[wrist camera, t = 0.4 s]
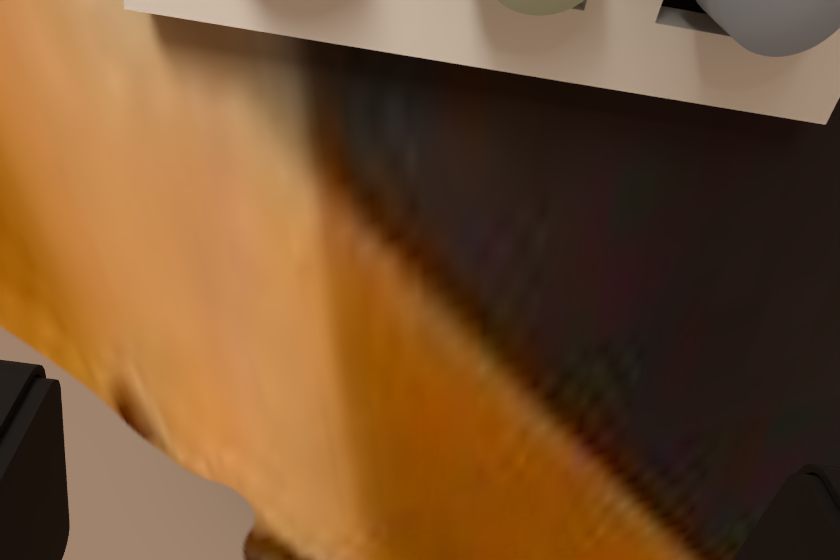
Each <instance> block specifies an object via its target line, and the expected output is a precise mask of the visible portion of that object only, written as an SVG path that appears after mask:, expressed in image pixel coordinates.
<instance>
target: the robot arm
mask: <svg viewBox="0 0 840 560" xmlns="http://www.w3.org/2000/svg"><path fill="white" fill-rule="evenodd" d="M67 495H68V494H67V480H66V463H65V449H64V433H63V419H62V402H61V387H60V383H59V381H58V380H55V379H47V378H46V375H45V370H44V368H43V366H42V365H36V364H29V363H21V362H13V361H5V360H0V560H62V558H63V555H64V552H65V549H66V545H67V541H68V536H69V509H68V496H67ZM733 560H840V468H839V467H831V466H823V465H815V464H808V465H805V466H803V467H802V468H801V469H800V470H799V471H798V473H794V474H791V475H790V476H789V477H788V478H787V479H786V481H785V482H784V484H783V485H782V487H781V488H780V490H779V491H778V493H777V494H776V496H775V497H774V499H773V500H772V502H771V503H770V505H769V506H768V508H767V509H766V511H765V512H764V514H763V515H762V517H761V518H760V520H759V521H758V523H757V524H756V526H755V527H754V529H753V530H752V532H751V533H750V535H749V536H748V538H747V539H746V541H745V542H744V544H743V545H742V547H741V548H740V550H739V551H738V553H737V554H736V556H735V557H734V559H733Z"/></svg>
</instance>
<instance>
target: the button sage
mask: <svg viewBox="0 0 840 560" xmlns="http://www.w3.org/2000/svg"><path fill="white" fill-rule="evenodd" d="M497 1H499V2H500V3H501V4H502V5H504V6H506V7H508V8H509V9H511V10H514V11H516V12H519V13H523V14H527V15H535V16H542V15H552V14H557V13H560V12H563V11H566V10H568V9H571V8H573V7H575V6H576V5H578V4H580V3H582V2H583V1H584V0H497Z"/></svg>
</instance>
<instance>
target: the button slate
mask: <svg viewBox="0 0 840 560" xmlns="http://www.w3.org/2000/svg"><path fill="white" fill-rule="evenodd" d="M696 2H697V3H698V4H699V6H700V7H701V8H702V9H703V10H704V11H705V12H706V13H707V14H708V15H709V16H710V17H711V18H712V19H713V20H714V21H715V22H716V23H718V24H719V25H720V26H721V27H722V28H723V29H724V30H725V31H726V32H727V33H728V34H729V35H730V36H731V37H732V38H733V39H734V40H735V41H736V42H737V43H739V44H740V45H741V46H742V47H744V48H745V49H747V50H748V51H750V52H753V53H755V54H758V55H762V56H769V57H783V56H790V55H794V54H797V53H801V52H803V51H806V50H808V49H811V48H812V47H814V46H816V45H818V44H820V43H821V42H823V41H824V40H826V39H827V38H828V37H830V36H831V35H832V34H833V33H835V32H836V31H837V30H838V29H839V28H840V0H696Z"/></svg>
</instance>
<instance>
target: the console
mask: <svg viewBox="0 0 840 560" xmlns="http://www.w3.org/2000/svg"><path fill="white" fill-rule="evenodd" d="M662 2H663V0H584V1H583V2H582V3H580V4H578V5H576V6H575V7H573V8H571V9H568V10H566V11H563V12H560V13H557V14H552V15H542V16H535V15H527V14H523V13H519V12H516V11H514V10H511V9H509V8H508V7H506V6H504V5H502V4H501V3H500V2H499V1H497V0H124V9H127V10H133V11H139V12H145V13H151V14H157V15H163V16H169V17H175V18H181V19H187V20H193V21H200V22H206V23H212V24H218V25H224V26H230V27H236V28H242V29H248V30H254V31H260V32H266V33H272V34H278V35H284V36H291V37H297V38H303V39H309V40H315V41H321V42H327V43H333V44H339V45H345V46H351V47H357V48H363V49H369V50H375V51H381V52H388V53H394V54H400V55H406V56H412V57H418V58H424V59H430V60H436V61H442V62H448V63H454V64H460V65H466V66H472V67H479V68H485V69H491V70H497V71H503V72H509V73H515V74H521V75H527V76H533V77H539V78H545V79H551V80H557V81H563V82H569V83H576V84H582V85H588V86H594V87H600V88H606V89H612V90H618V91H624V92H630V93H636V94H642V95H648V96H654V97H660V98H667V99H673V100H679V101H685V102H691V103H697V104H703V105H709V106H715V107H721V108H727V109H733V110H739V111H745V112H751V113H757V114H764V115H770V116H776V117H782V118H788V119H794V120H800V121H806V122H812V123H818V124H824V125H826V123H827V121H828V119H829V117H830V115H831V113H832V111H833V109H834V107H835V105H836V103H837V101H838V99H839V97H840V28H839V29H838V30H837V31H836V32H835V33H833V34H832V35H831V36H830V37H828V38H827V39H826V40H824V41H823V42H821V43H820V44H818V45H816V46H814V47H812V48H811V49H808V50H806V51H803V52H801V53H797V54H794V55H790V56H783V57H769V56H762V55H758V54H755V53H753V52H750V51H748V50H747V49H745V48H744V47H742V46H741V45H740V44H739V43H737V42H736V41H735V40H734V39H733V38H732V37H731V36H730V35H729V34H728V33H727V32H726V31H725V30H724V29H723V28H722V27H721V26H720V25H719V24H718V23H716V22H715V21H714V20H713V19H712V18H711V17H710V16H709V15H708V14H704V13H698V12H693V11H687V10H681V9H676V8H670V7H665V6H661V5H662Z"/></svg>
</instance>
